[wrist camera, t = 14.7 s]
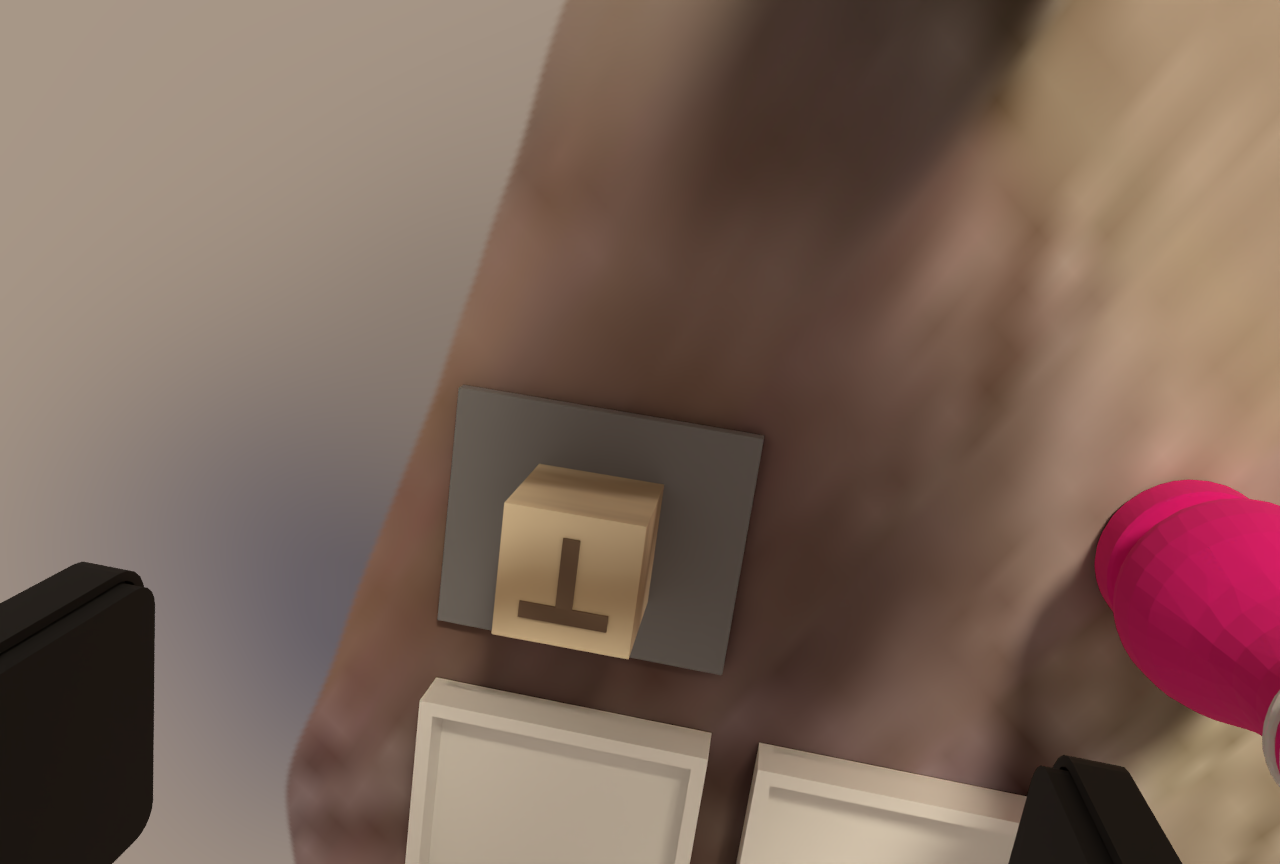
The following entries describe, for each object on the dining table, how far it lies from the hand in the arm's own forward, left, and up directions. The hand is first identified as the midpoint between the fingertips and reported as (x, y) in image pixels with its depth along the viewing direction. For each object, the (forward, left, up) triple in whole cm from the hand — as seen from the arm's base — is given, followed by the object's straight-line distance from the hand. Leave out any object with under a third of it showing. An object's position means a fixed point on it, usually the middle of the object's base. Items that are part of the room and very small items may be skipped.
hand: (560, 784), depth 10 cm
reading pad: (+8, -4, -28) cm, 30 cm away
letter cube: (+8, -4, -28) cm, 29 cm away
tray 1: (+22, -4, -28) cm, 36 cm away
